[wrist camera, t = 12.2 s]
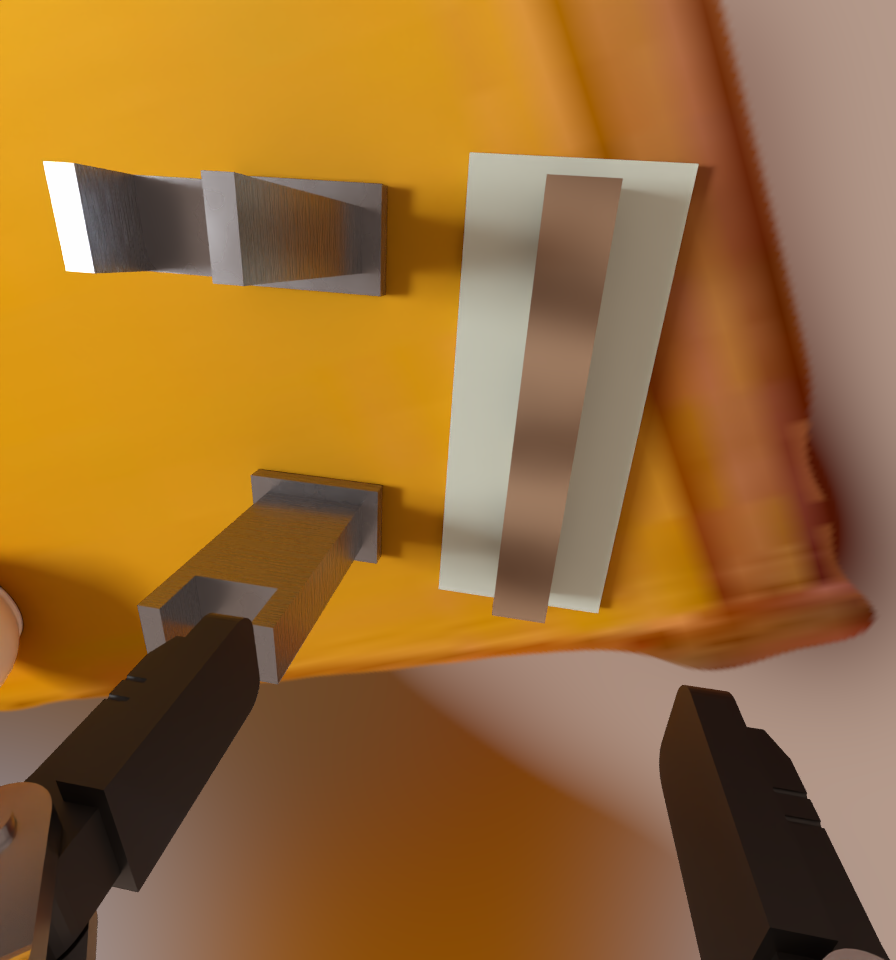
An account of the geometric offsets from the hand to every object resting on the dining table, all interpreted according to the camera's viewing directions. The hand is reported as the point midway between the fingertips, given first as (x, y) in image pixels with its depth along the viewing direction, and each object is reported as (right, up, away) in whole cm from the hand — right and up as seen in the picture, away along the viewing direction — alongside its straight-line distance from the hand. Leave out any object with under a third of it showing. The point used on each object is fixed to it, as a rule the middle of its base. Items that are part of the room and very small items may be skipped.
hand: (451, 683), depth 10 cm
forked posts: (-8, +9, +20) cm, 24 cm away
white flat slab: (+5, +7, +19) cm, 21 cm away
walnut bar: (+5, +7, +18) cm, 20 cm away
